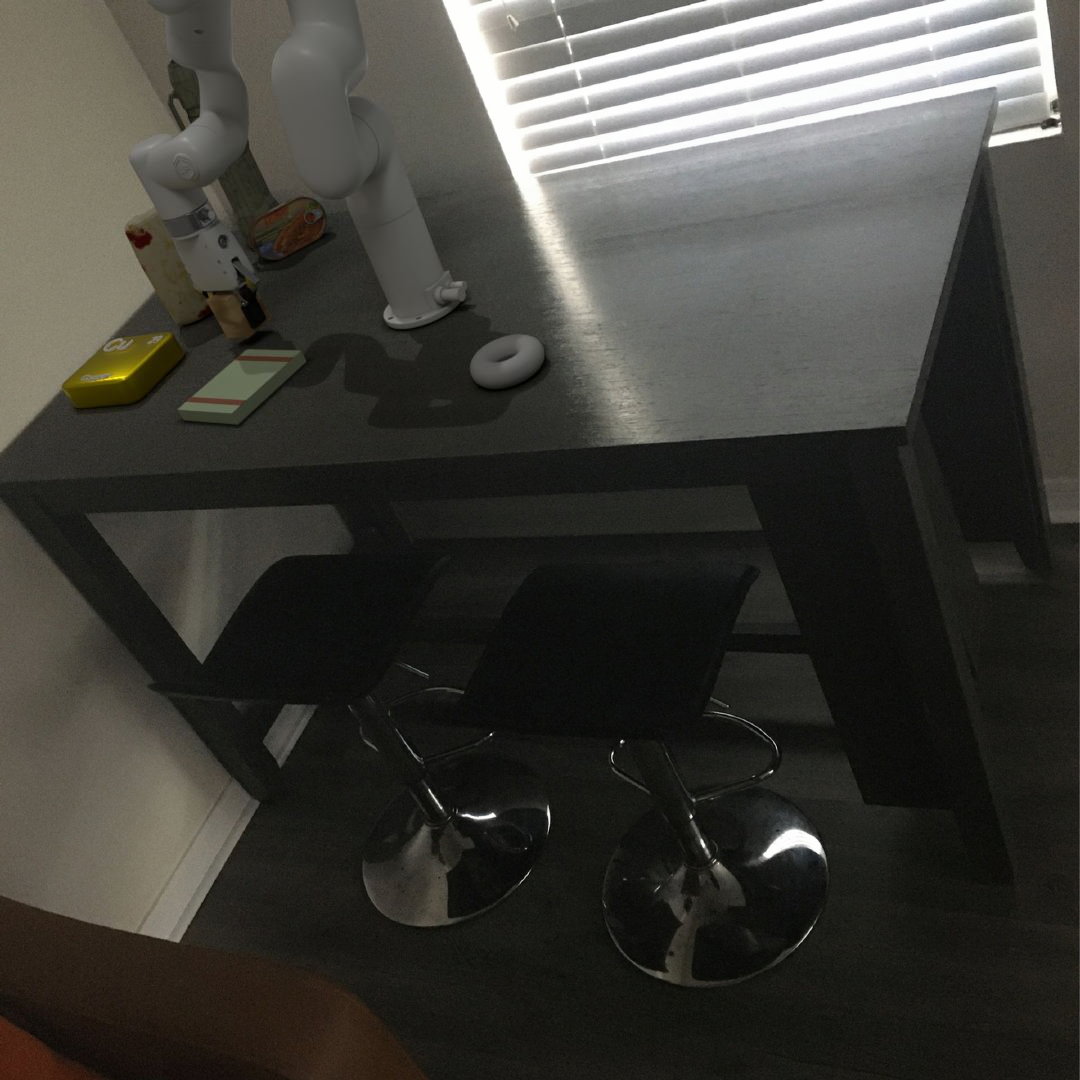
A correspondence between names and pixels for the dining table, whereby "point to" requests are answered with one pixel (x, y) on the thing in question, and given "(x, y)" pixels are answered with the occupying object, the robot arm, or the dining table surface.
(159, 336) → the element tile
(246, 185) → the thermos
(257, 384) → the towel
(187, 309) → the food model
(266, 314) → the block
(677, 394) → the dining table surface
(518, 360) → the donut
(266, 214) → the tin
